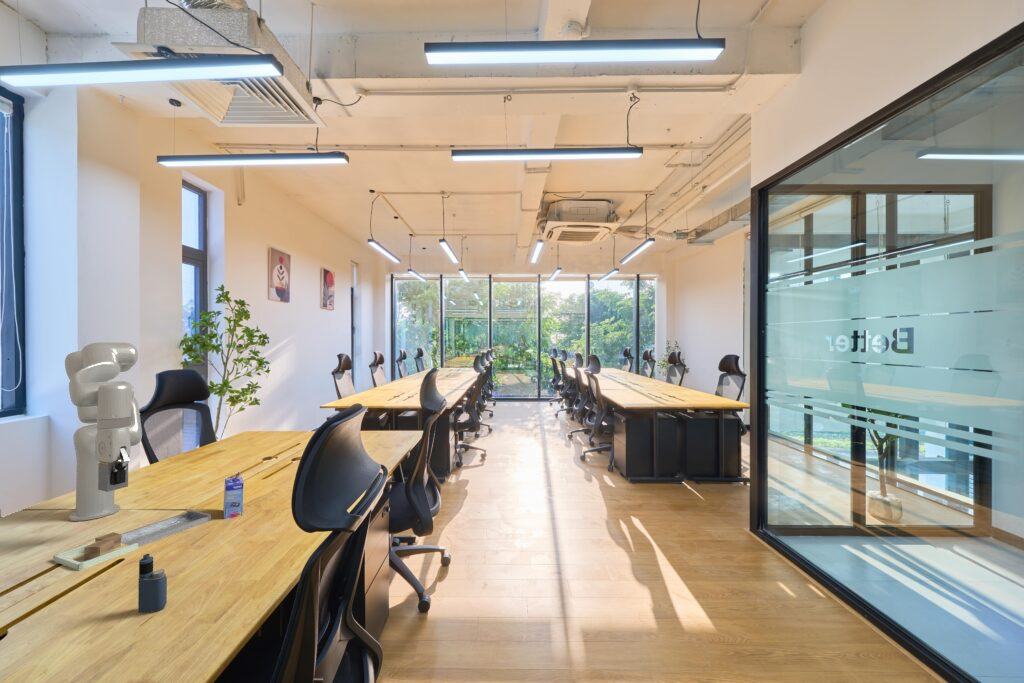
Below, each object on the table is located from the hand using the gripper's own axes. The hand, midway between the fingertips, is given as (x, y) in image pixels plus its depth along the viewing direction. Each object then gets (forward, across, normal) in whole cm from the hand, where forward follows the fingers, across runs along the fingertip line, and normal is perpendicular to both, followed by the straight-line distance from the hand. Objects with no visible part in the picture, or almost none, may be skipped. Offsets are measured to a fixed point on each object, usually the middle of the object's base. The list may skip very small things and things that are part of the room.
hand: (113, 481), depth 126 cm
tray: (+17, +12, -9) cm, 23 cm away
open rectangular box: (+17, +12, +7) cm, 22 cm away
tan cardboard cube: (+17, +10, -5) cm, 20 cm away
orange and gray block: (+2, 0, 0) cm, 2 cm away
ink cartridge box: (+17, +18, +25) cm, 35 cm away
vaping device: (+17, +53, -16) cm, 58 cm away
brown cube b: (+17, +14, -9) cm, 23 cm away
